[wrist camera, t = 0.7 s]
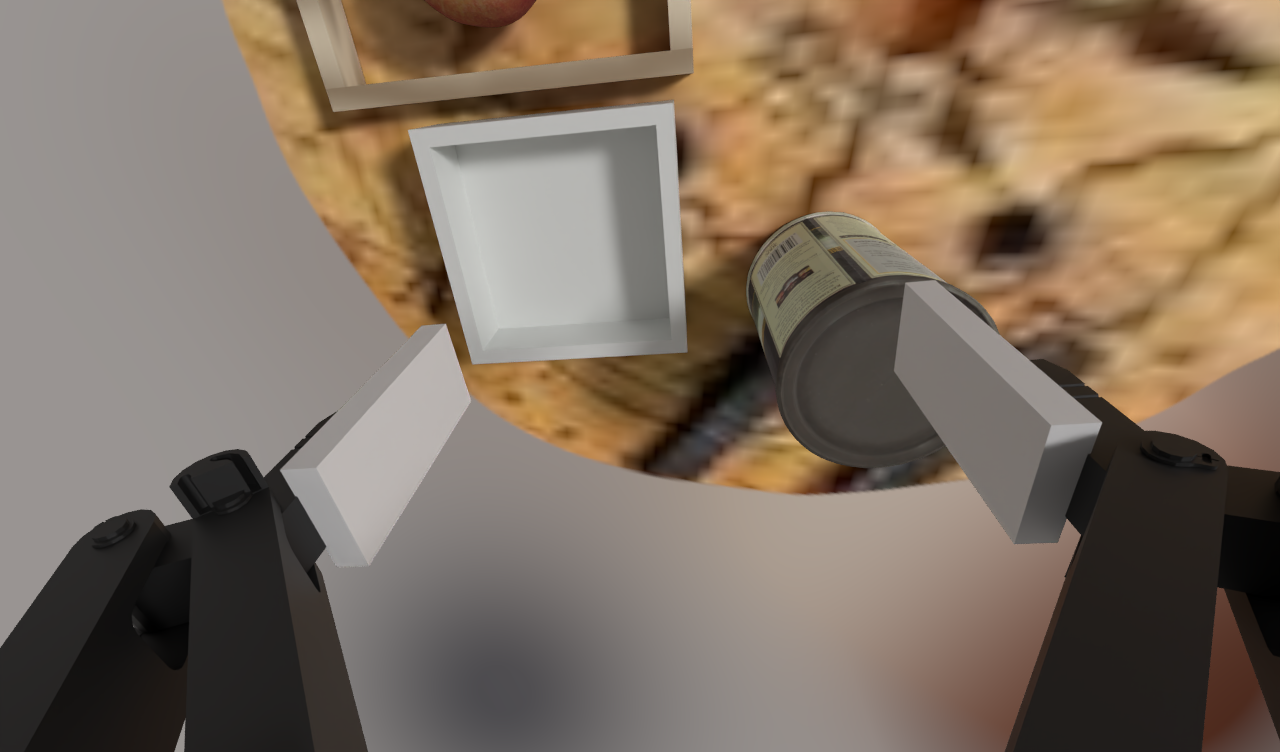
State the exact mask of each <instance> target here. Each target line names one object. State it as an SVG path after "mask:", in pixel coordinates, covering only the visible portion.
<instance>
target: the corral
mask: <svg viewBox="0 0 1280 752" xmlns="http://www.w3.org/2000/svg"><path fill="white" fill-rule="evenodd" d="M296 1H297V4H298V7H299V10H300V13H301V16H302V19H303V22H304V25H305V28H306V31H307V34H308V37H309V40H310V43H311V46H312V49H313V52H314V55H315V58H316V61H317V64H318V67H319V70H320V73H321V76H322V79H323V82H324V85H325V89H326V92H327V95H328V98H329V101H330V104H331V107H332V110H333V112H337V111H347V110H357V109H366V108H375V107H385V106H394V105H403V104H412V103H422V102H431V101H440V100H450V99H459V98H468V97H477V96H487V95H496V94H505V93H514V92H524V91H533V90H542V89H551V88H561V87H570V86H579V85H589V84H598V83H607V82H616V81H626V80H635V79H644V78H653V77H663V76H672V75H681V74H691V73H694V71H693V46H692V22H691V0H668V14H669V32H670V49H671V50H669V51H660V52H651V53H643V54H634V55H625V56H616V57H607V58H598V59H589V60H580V61H571V62H563V63H554V64H545V65H536V66H527V67H518V68H509V69H500V70H492V71H483V72H474V73H465V74H456V75H447V76H438V77H429V78H421V79H412V80H403V81H394V82H385V83H376V84H367V85H366V82H365V79H364V76H363V72H362V69H361V66H360V62H359V59H358V56H357V52H356V49H355V45H354V42H353V39H352V35H351V32H350V29H349V25H348V22H347V19H346V15H345V12H344V9H343V5H342V2H341V0H296Z"/></svg>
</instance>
